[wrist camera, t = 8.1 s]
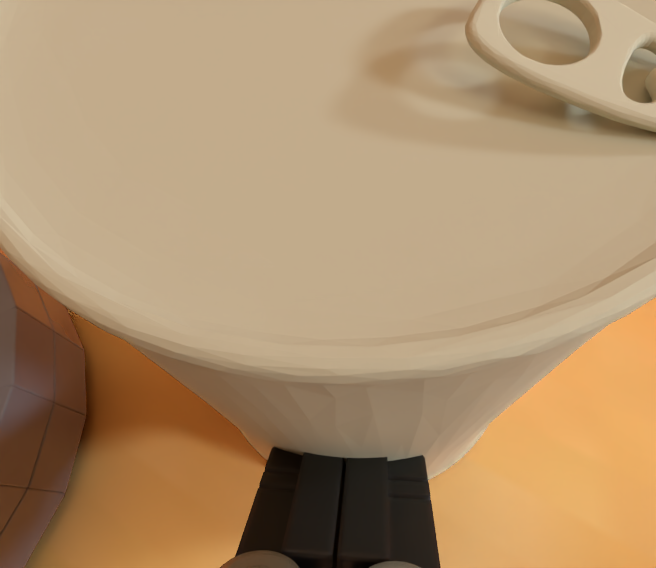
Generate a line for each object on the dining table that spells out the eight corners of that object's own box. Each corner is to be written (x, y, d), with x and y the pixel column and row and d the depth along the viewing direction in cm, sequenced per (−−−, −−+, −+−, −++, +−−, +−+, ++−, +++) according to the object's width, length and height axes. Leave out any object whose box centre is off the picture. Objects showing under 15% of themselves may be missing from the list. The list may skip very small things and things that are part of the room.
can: (419, 567, 13) (695, 754, 2) (162, 387, 15) (-287, 68, 5) (550, 297, 16) (918, -173, 5) (317, 188, 19) (255, -265, 8)
